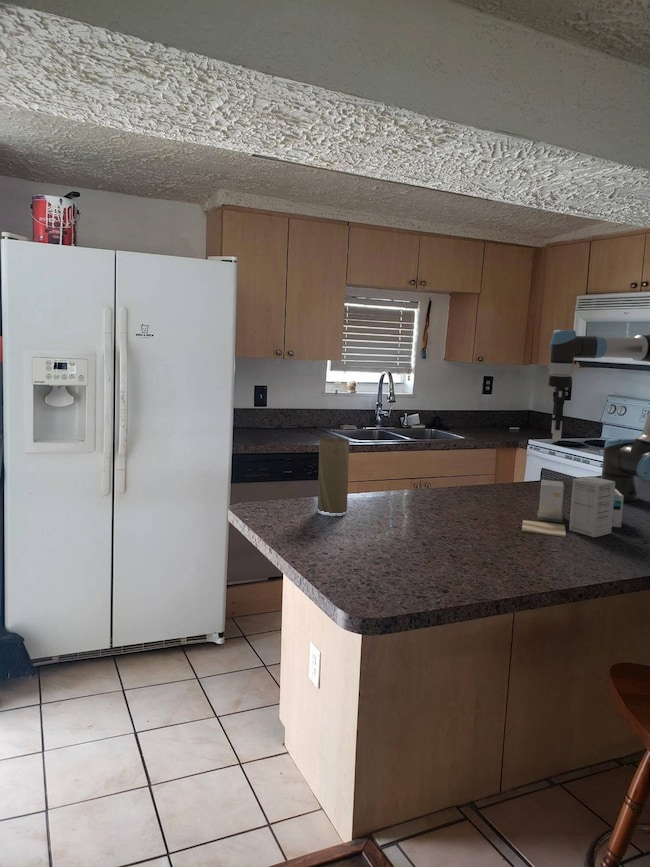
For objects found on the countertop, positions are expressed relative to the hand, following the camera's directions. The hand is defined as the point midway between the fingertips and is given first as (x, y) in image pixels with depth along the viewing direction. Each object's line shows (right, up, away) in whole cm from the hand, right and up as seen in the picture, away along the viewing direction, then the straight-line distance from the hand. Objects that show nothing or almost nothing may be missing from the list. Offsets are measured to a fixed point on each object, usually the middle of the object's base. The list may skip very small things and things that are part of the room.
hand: (555, 436), depth 228 cm
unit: (-4, -28, -6) cm, 28 cm away
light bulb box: (+14, -29, -9) cm, 33 cm away
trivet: (-11, -30, -19) cm, 37 cm away
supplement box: (+4, -30, -20) cm, 37 cm away
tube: (-78, -26, -7) cm, 83 cm away
